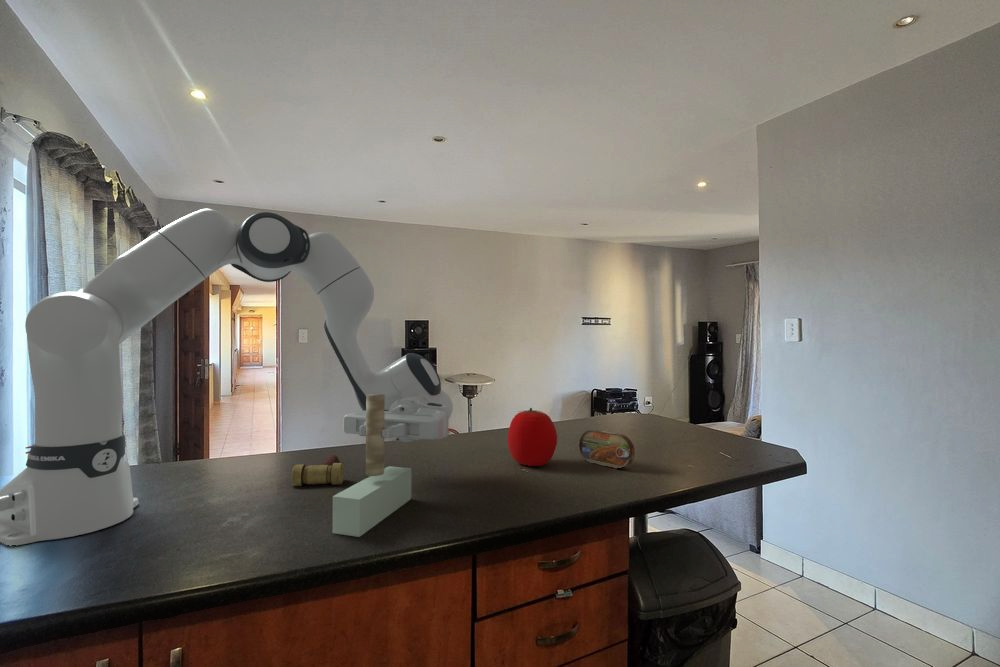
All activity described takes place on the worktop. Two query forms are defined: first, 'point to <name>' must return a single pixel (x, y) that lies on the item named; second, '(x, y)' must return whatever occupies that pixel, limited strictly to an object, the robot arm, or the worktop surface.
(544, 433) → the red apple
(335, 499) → the pale mint rectangular block
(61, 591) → the worktop surface
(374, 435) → the dowel
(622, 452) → the tin
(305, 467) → the gavel
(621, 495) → the worktop surface
